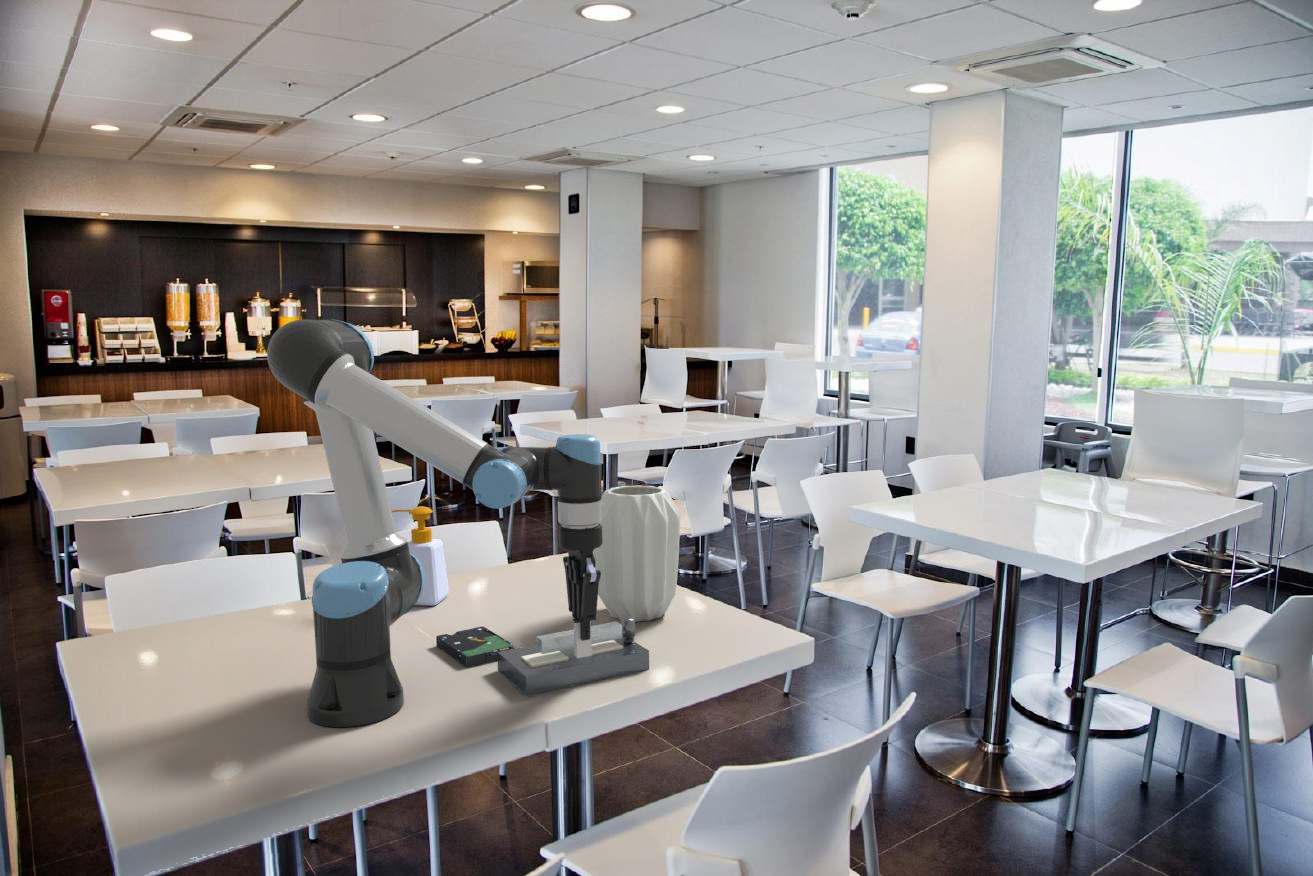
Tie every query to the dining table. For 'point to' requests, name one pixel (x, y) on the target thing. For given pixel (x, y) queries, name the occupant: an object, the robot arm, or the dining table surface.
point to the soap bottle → (428, 558)
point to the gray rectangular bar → (597, 636)
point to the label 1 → (544, 658)
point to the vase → (638, 551)
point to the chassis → (570, 667)
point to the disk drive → (473, 646)
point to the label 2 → (605, 647)
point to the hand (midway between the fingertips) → (583, 655)
